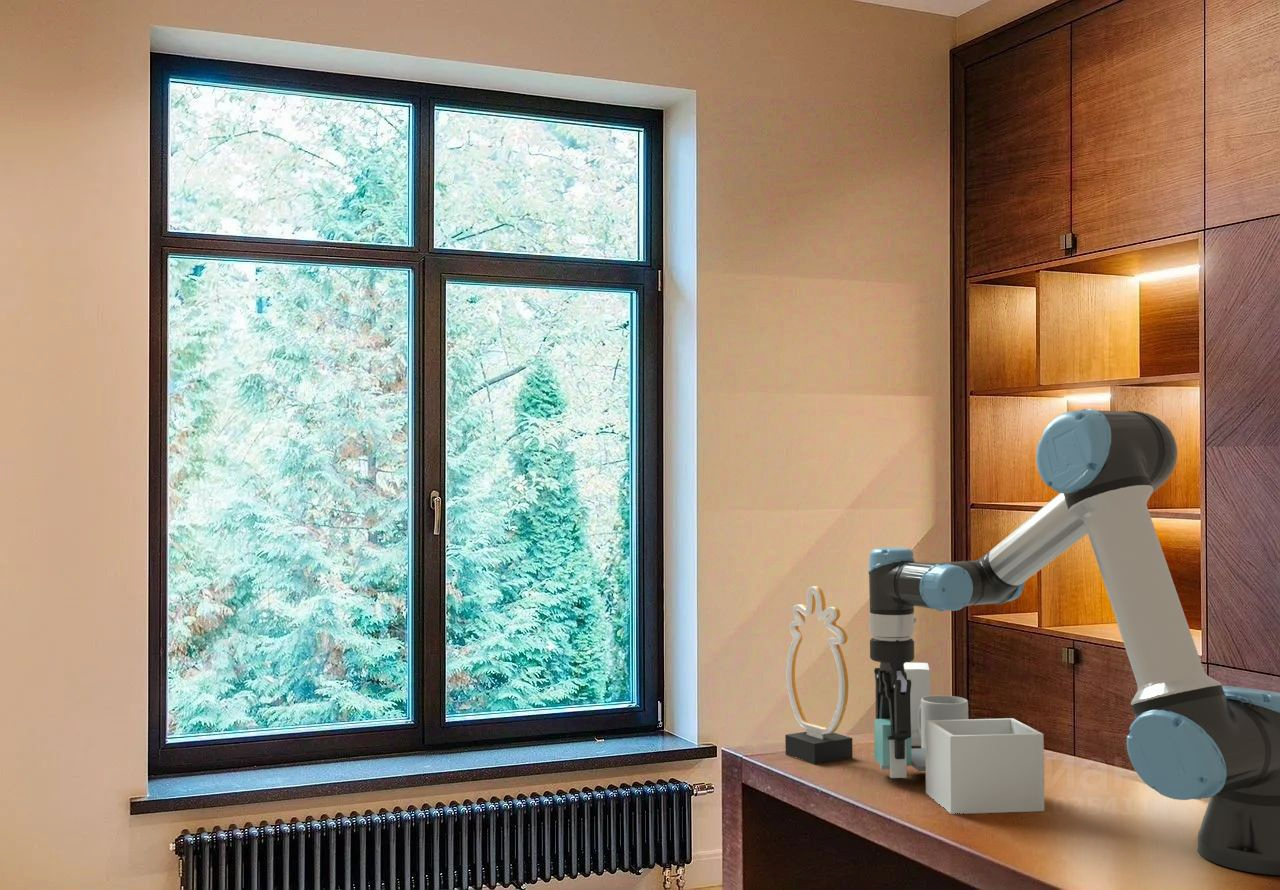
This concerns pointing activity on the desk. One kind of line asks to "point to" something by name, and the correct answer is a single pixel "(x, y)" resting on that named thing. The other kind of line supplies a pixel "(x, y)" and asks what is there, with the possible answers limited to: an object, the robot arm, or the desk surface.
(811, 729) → the lamp
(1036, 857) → the desk surface
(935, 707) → the mug
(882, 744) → the lid
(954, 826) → the desk surface
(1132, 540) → the robot arm
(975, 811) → the tub
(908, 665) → the supplement box
